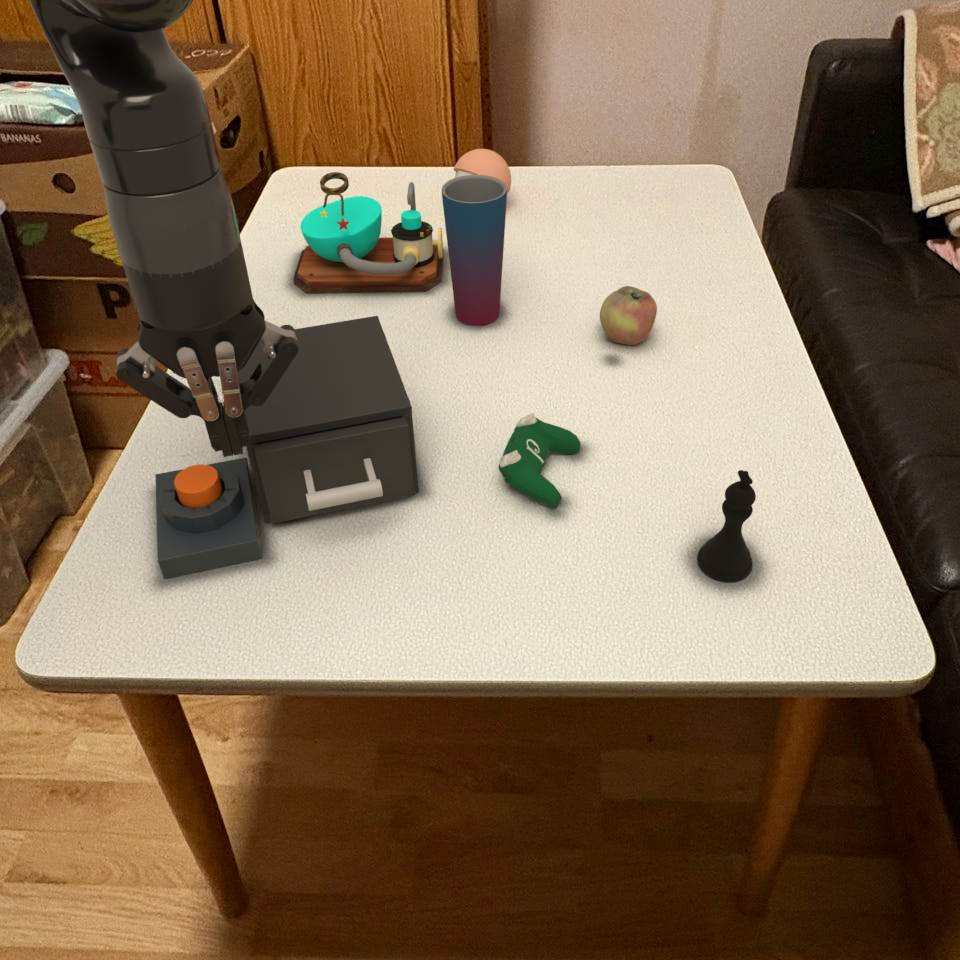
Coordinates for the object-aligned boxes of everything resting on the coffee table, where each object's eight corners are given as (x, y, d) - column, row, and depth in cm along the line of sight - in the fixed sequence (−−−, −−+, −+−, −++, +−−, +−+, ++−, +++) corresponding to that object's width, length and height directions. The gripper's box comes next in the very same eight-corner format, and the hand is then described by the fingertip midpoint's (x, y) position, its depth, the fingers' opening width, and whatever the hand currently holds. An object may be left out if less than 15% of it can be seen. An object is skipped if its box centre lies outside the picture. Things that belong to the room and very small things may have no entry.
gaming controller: (557, 457, 88) (515, 415, 86) (586, 440, 85) (543, 397, 83) (532, 522, 81) (485, 478, 79) (562, 505, 79) (515, 460, 77)
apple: (597, 359, 97) (601, 311, 93) (597, 319, 103) (601, 272, 99) (654, 362, 96) (661, 313, 92) (651, 321, 102) (657, 274, 98)
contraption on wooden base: (441, 302, 106) (434, 177, 96) (287, 304, 106) (264, 179, 96) (445, 244, 116) (439, 126, 106) (305, 246, 117) (286, 128, 107)
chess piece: (731, 537, 77) (753, 446, 70) (762, 573, 74) (788, 481, 67) (686, 552, 76) (704, 461, 69) (716, 589, 73) (738, 497, 66)
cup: (440, 304, 106) (433, 179, 96) (496, 294, 107) (495, 170, 97) (457, 334, 101) (451, 207, 91) (515, 324, 102) (516, 196, 92)
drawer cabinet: (419, 492, 82) (411, 406, 75) (265, 523, 79) (243, 437, 73) (386, 398, 92) (377, 315, 86) (249, 423, 90) (229, 339, 83)
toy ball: (441, 209, 124) (438, 152, 119) (478, 190, 128) (477, 134, 123) (486, 226, 120) (486, 168, 115) (523, 205, 124) (523, 148, 119)
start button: (223, 503, 76) (219, 487, 75) (179, 512, 75) (174, 496, 74) (221, 475, 78) (216, 460, 77) (178, 484, 78) (173, 468, 77)
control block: (262, 558, 76) (253, 524, 73) (164, 579, 75) (151, 545, 72) (250, 475, 84) (242, 441, 81) (161, 492, 82) (150, 458, 80)
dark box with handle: (426, 528, 77) (420, 457, 72) (277, 559, 75) (260, 488, 69) (384, 405, 90) (377, 338, 85) (256, 428, 88) (240, 361, 82)
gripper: (65, 283, 54) (143, 497, 66) (289, 253, 56) (326, 464, 68) (74, 227, 60) (144, 434, 71) (278, 202, 62) (314, 406, 73)
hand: (233, 448), depth 70 cm, fingers closed
